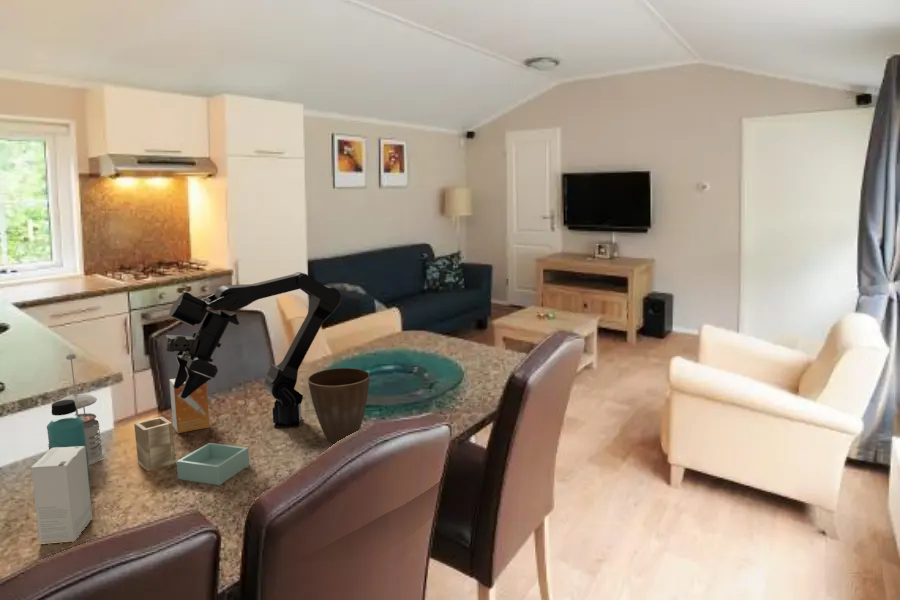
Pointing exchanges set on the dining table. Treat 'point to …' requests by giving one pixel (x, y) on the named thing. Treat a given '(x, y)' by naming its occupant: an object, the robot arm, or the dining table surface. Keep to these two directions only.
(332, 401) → the plant pot
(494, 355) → the dining table surface
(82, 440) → the beverage bottle
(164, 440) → the birch crate
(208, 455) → the teal crate
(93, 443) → the french press
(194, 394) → the small box
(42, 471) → the skincare box
